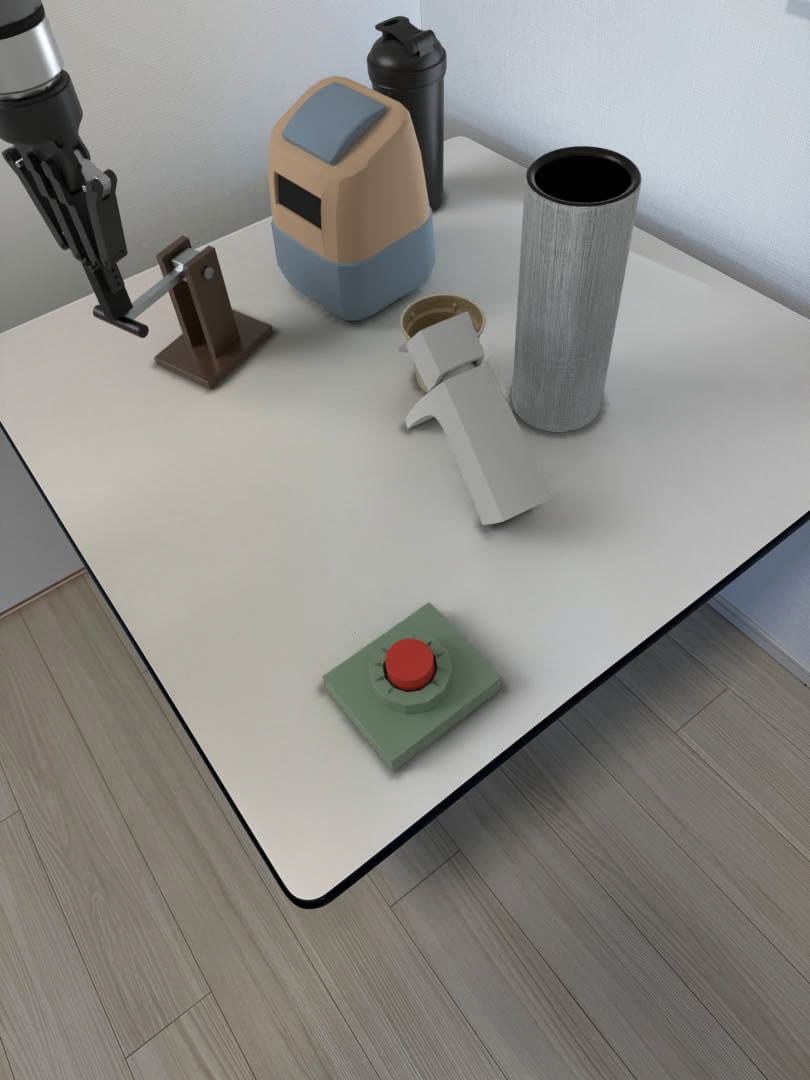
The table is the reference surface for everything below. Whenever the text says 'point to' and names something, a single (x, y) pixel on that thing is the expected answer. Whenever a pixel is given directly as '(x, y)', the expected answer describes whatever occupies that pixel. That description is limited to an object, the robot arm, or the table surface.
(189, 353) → the brown lever stand
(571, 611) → the table surface
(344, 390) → the table surface
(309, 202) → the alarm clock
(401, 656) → the button
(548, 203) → the vase
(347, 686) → the button box
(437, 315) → the flower pot
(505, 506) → the faucet
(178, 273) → the tap lever
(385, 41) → the water bottle
